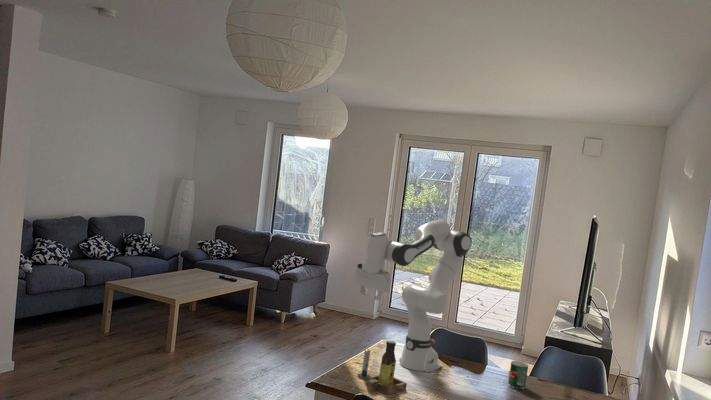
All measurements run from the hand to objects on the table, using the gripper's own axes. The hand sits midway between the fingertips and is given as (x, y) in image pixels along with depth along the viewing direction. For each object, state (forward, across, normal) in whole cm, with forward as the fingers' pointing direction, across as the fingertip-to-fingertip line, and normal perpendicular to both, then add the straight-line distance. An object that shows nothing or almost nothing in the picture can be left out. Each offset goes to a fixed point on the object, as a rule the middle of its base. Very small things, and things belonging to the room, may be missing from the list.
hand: (369, 297), depth 259 cm
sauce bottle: (+34, -20, +4) cm, 40 cm away
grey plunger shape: (+34, -7, +4) cm, 35 cm away
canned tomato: (+34, -46, -60) cm, 83 cm away
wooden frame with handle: (+34, -20, +5) cm, 40 cm away
